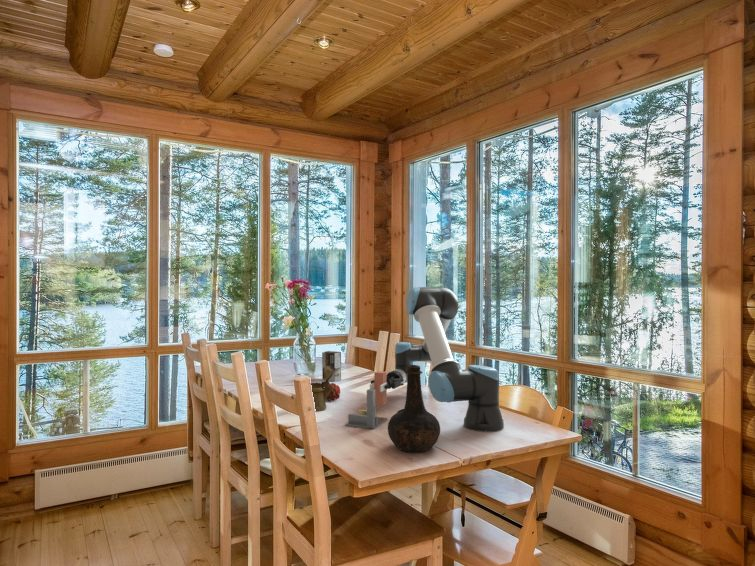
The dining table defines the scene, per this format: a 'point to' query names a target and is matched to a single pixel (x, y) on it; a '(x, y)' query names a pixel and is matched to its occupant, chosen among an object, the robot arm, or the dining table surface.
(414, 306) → the robot arm
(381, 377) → the link bar
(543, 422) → the dining table surface
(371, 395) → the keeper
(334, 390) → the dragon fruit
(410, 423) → the glass bottle
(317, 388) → the brass mortar and pestle
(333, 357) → the coffee box
